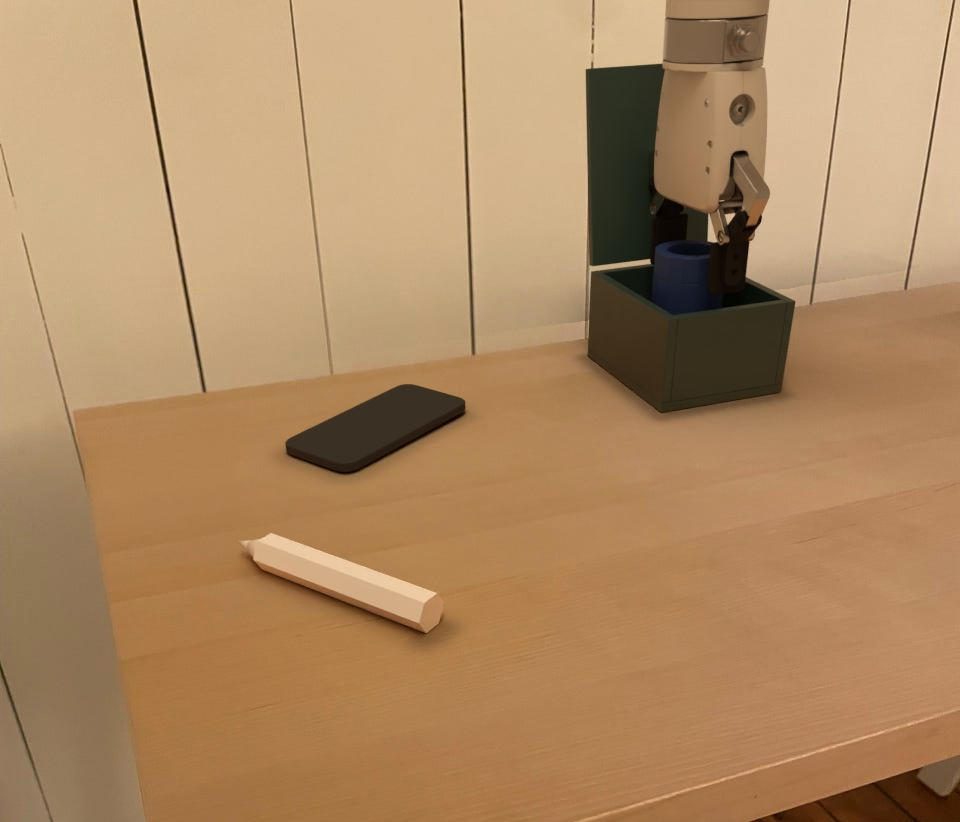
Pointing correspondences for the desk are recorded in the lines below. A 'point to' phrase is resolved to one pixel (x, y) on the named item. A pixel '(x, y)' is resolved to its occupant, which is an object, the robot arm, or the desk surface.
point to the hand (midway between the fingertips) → (695, 277)
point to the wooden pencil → (347, 581)
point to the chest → (688, 341)
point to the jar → (683, 277)
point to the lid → (624, 163)
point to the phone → (374, 427)
